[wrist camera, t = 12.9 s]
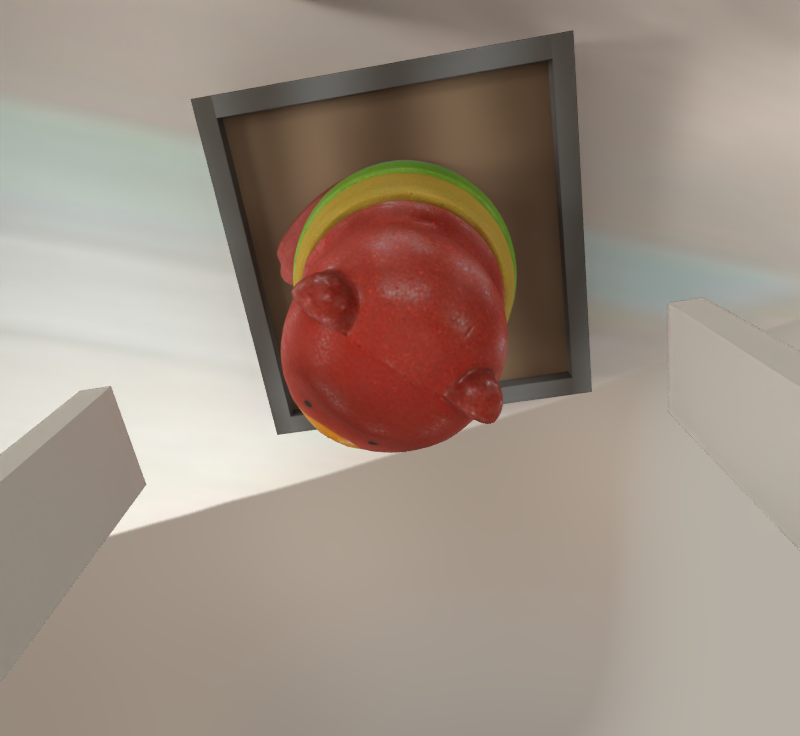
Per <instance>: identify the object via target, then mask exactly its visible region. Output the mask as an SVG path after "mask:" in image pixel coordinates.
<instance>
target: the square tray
mask: <svg viewBox="0 0 800 736" xmlns="http://www.w3.org/2000/svg"><path fill="white" fill-rule="evenodd" d="M191 102H192V106H193V110H194V114H195V118H196V122H197V125H198V129H199V133H200V137H201V141H202V145H203V149H204V153H205V156H206V160H207V164H208V168H209V172H210V176H211V180H212V183H213V187H214V191H215V195H216V199H217V203H218V207H219V211H220V214H221V218H222V222H223V226H224V230H225V234H226V238H227V242H228V245H229V249H230V253H231V257H232V261H233V265H234V269H235V272H236V276H237V280H238V284H239V288H240V292H241V296H242V300H243V303H244V307H245V311H246V315H247V319H248V323H249V327H250V331H251V334H252V338H253V342H254V346H255V350H256V354H257V358H258V361H259V365H260V369H261V373H262V377H263V381H264V385H265V389H266V392H267V396H268V400H269V404H270V408H271V412H272V416H273V420H274V423H275V427H276V431H277V435H279V434H286V433H294V432H301V431H308V430H316V428H315V427H314V426H313V425H312V424H311V423H310V421H309V420H308V419H307V418H306V417H305V415H304V414H303V413H302V411H301V410H300V408H299V407H298V406H297V404H296V403H295V401H294V400H293V398H292V396H291V394H290V391H289V389H288V386H287V383H286V380H285V377H284V374H283V369H282V363H281V340H282V332H283V327H284V323H285V319H286V316H287V313H288V310H289V308H290V305H291V303H292V301H293V297H292V289H293V288H294V286H293V285H291V284H289V283H287V282H285V281H284V280H283V278H282V277H281V273H280V270H281V264H280V261H279V259H278V257H277V250H278V246H279V243H280V241H281V240H282V238H283V236H284V234H285V233H286V231H287V230H288V228H289V227H290V225H291V224H292V223H293V222H294V220H295V219H296V218H297V217H298V215H299V214H300V213H301V212H302V211H303V210H304V209H305V208H306V207H307V206H308V205H309V204H310V203H311V202H312V201H313V200H314V199H315V198H316V197H317V196H319V195H320V194H321V193H322V192H324V191H325V190H326V189H328V188H329V187H331V186H332V185H334V184H335V183H337V182H338V181H340V180H342V179H344V178H345V177H347V176H349V175H351V174H353V173H355V172H357V171H360V170H362V169H364V168H367V167H369V166H372V165H375V164H379V163H383V162H388V161H394V160H419V161H424V162H428V163H432V164H436V165H439V166H442V167H445V168H447V169H449V170H452V171H454V172H456V173H458V174H459V175H461V176H463V177H464V178H465V179H467V180H468V181H470V182H471V183H472V184H474V185H475V186H476V187H477V188H478V189H479V190H481V191H482V192H483V193H484V194H485V195H486V196H487V197H488V198H489V200H490V201H491V202H492V203H493V205H494V206H495V207H496V209H497V210H498V212H499V213H500V215H501V217H502V218H503V221H504V223H505V225H506V227H507V229H508V232H509V234H510V237H511V240H512V244H513V248H514V252H515V259H516V270H517V280H516V292H515V299H514V303H513V306H512V310H511V313H510V317H509V319H508V322H507V329H508V343H507V355H506V360H505V364H504V368H503V371H502V374H501V377H500V379H499V381H498V384H499V386H500V387H501V390H502V394H503V404H506V403H513V402H520V401H528V400H535V399H542V398H550V397H557V396H564V395H571V394H579V393H586V392H591V391H592V388H591V368H590V348H589V329H588V309H587V290H586V270H585V251H584V231H583V211H582V192H581V172H580V153H579V133H578V114H577V94H576V75H575V55H574V35H573V31H567V32H562V33H556V34H550V35H545V36H539V37H534V38H528V39H523V40H517V41H511V42H506V43H500V44H495V45H489V46H484V47H478V48H473V49H467V50H461V51H456V52H450V53H445V54H439V55H434V56H428V57H423V58H417V59H411V60H406V61H400V62H395V63H389V64H384V65H378V66H372V67H367V68H361V69H356V70H350V71H345V72H339V73H334V74H328V75H322V76H317V77H311V78H306V79H300V80H295V81H289V82H283V83H278V84H272V85H267V86H261V87H256V88H250V89H245V90H239V91H233V92H228V93H222V94H217V95H211V96H206V97H200V98H194V99H191Z"/></svg>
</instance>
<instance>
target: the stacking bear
mask: <svg viewBox="0 0 800 736" xmlns="http://www.w3.org/2000/svg"><path fill="white" fill-rule="evenodd" d="M277 257H278V259H279V261H280V264H281V270H280V273H281V277H282V278H283V280H284V281H285V282H287V283H289V284H291V285H293V286H294V288H293V289H292V297H293V301H292V303H291V305H290V308H289V310H288V313H287V316H286V319H285V323H284V327H283V332H282V340H281V363H282V369H283V374H284V377H285V380H286V383H287V386H288V389H289V391H290V394H291V396H292V398H293V400H294V401H295V403H296V404H297V406H298V407H299V408H300V410H301V411H302V413H303V414H304V415H305V417H306V418H307V419H308V420H309V421H310V423H311V424H312V425H313V426H314V427H315V428H316V429H317V430H318V431H320V432H321V433H322V434H324V435H325V436H327V437H328V438H331V439H333V440H334V441H336V442H338V443H341V444H343V445H346V446H348V447H353V448H359V449H365V450H369V451H375V452H390V453H393V452H406V451H412V450H417V449H422V448H426V447H430V446H432V445H435V444H438V443H440V442H443V441H445V440H447V439H449V438H451V437H452V436H454V435H455V434H457V433H458V432H459V431H461V430H462V429H463V428H464V427H465V426H467V425H468V424H469V423H470V422H471V421H472V420H477V421H479V422H481V423H485V424H491V423H493V422H495V421H496V419H497V418H498V417H499V415H500V413H501V410H502V406H503V394H502V390H501V387H500V386H499V384H498V381H499V379H500V377H501V374H502V371H503V368H504V364H505V360H506V355H507V343H508V329H507V322H508V319H509V317H510V313H511V310H512V306H513V303H514V299H515V292H516V280H517V270H516V259H515V252H514V248H513V244H512V240H511V237H510V234H509V232H508V229H507V227H506V225H505V223H504V221H503V218H502V217H501V215H500V213H499V212H498V210H497V209H496V207H495V206H494V205H493V203H492V202H491V201H490V200H489V198H488V197H487V196H486V195H485V194H484V193H483V192H482V191H481V190H479V189H478V188H477V187H476V186H475V185H474V184H472V183H471V182H470V181H468V180H467V179H465V178H464V177H463V176H461V175H459V174H458V173H456V172H454V171H452V170H449V169H447V168H445V167H442V166H439V165H436V164H432V163H428V162H424V161H419V160H394V161H388V162H383V163H379V164H375V165H372V166H369V167H367V168H364V169H362V170H360V171H357V172H355V173H353V174H351V175H349V176H347V177H345V178H344V179H342V180H340V181H338V182H337V183H335V184H334V185H332V186H331V187H329V188H328V189H326V190H325V191H324V192H322V193H321V194H320V195H319V196H317V197H316V198H315V199H314V200H313V201H312V202H311V203H310V204H309V205H308V206H307V207H306V208H305V209H304V210H303V211H302V212H301V213H300V214H299V215H298V217H297V218H296V219H295V220H294V222H293V223H292V224H291V225H290V227H289V228H288V230H287V231H286V233H285V234H284V236H283V238H282V240H281V241H280V243H279V246H278V250H277Z"/></svg>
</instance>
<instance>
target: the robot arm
mask: <svg viewBox="0 0 800 736" xmlns="http://www.w3.org/2000/svg"><path fill="white" fill-rule="evenodd" d="M668 412H669V413H670V415H671V416H672V417H673V418H674V419H675V420H676V421H677V422H678V423H679V424H680V425H681V426H682V427H683V428H684V429H685V430H686V431H687V432H688V433H689V435H690V436H691V437H692V438H693V439H694V440H695V441H696V442H697V443H698V444H699V445H700V446H701V447H702V448H703V449H704V450H705V451H706V452H707V454H709V456H710V457H711V458H712V459H713V460H714V461H715V462H716V463H717V464H718V465H719V466H720V467H721V468H722V469H723V470H724V471H725V472H726V474H727V475H729V477H730V478H731V479H732V480H733V481H734V482H735V483H736V484H737V485H738V486H739V487H740V488H741V489H742V490H743V491H744V492H745V494H746V495H747V496H748V497H749V498H750V499H751V500H752V501H753V502H754V503H755V504H756V505H757V506H758V507H759V508H760V509H761V510H762V511H763V513H764V514H765V515H766V516H767V517H768V518H769V519H770V520H771V521H772V522H773V523H774V524H775V525H776V526H777V527H778V528H779V529H780V530H781V531H782V533H784V535H785V536H786V537H787V538H788V539H789V540H790V541H791V542H792V543H793V544H794V545H795V546H796V547H797V548H798V549H799V550H800V351H799V350H797V349H795V348H793V347H792V346H790V345H788V344H786V343H784V342H783V341H781V340H779V339H777V338H775V337H774V336H772V335H770V334H768V333H766V332H764V331H763V330H761V329H759V328H757V327H755V326H754V325H752V324H750V323H748V322H746V321H744V320H743V319H741V318H739V317H737V316H735V315H734V314H732V313H730V312H728V311H726V310H724V309H723V308H721V307H719V306H717V305H715V304H714V303H712V302H710V301H708V300H706V299H704V298H697V299H690V300H683V301H677V302H670V303H668ZM145 485H146V483H145V480H144V477H143V474H142V472H141V469H140V466H139V463H138V460H137V458H136V455H135V452H134V449H133V447H132V444H131V441H130V438H129V435H128V433H127V430H126V427H125V424H124V421H123V419H122V416H121V413H120V410H119V408H118V405H117V402H116V399H115V396H114V394H113V391H112V388H111V386H108V387H102V388H95V389H88V390H82V391H79V392H78V393H77V394H75V395H74V396H73V397H72V398H70V399H69V400H68V401H67V402H65V403H64V404H63V405H62V406H60V407H59V408H58V409H57V410H55V411H54V412H53V413H52V414H50V415H49V416H48V417H47V418H45V419H44V420H43V421H42V422H40V423H39V424H38V425H37V426H35V427H34V428H33V429H32V430H30V431H29V432H28V433H27V434H25V435H24V436H23V437H22V438H20V439H19V440H18V441H17V442H15V443H14V444H13V445H12V446H10V447H9V448H8V449H7V450H5V451H4V452H3V453H2V454H0V684H1V682H2V681H3V680H4V678H5V677H6V676H7V674H8V673H9V671H10V670H11V669H12V667H13V666H14V665H15V663H16V662H17V661H18V659H19V658H20V656H21V655H22V654H23V652H24V651H25V650H26V648H27V647H28V645H29V644H30V643H31V641H32V640H33V639H34V637H35V636H36V634H37V633H38V632H39V630H40V629H41V628H42V626H43V625H44V624H45V622H46V621H47V619H48V618H49V617H50V615H51V614H52V613H53V611H54V610H55V608H56V607H57V606H58V604H59V603H60V602H61V600H62V599H63V598H64V596H65V595H66V594H67V592H68V591H69V589H70V588H71V587H72V585H73V584H74V583H75V581H76V580H77V578H78V577H79V576H80V574H81V573H82V572H83V570H84V569H85V568H86V566H87V565H88V563H89V562H90V561H91V559H92V558H93V557H94V555H95V554H96V552H97V551H98V550H99V548H100V547H101V545H102V544H103V543H104V542H105V540H106V539H107V537H108V536H109V535H110V533H111V532H112V531H113V529H114V528H115V527H116V525H117V524H118V522H119V521H120V520H121V518H122V517H123V516H124V514H125V513H126V511H127V510H128V509H129V507H130V506H131V505H132V503H133V502H134V501H135V499H136V498H137V496H138V495H139V494H140V492H141V491H142V490H143V488H144V487H145Z"/></svg>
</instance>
